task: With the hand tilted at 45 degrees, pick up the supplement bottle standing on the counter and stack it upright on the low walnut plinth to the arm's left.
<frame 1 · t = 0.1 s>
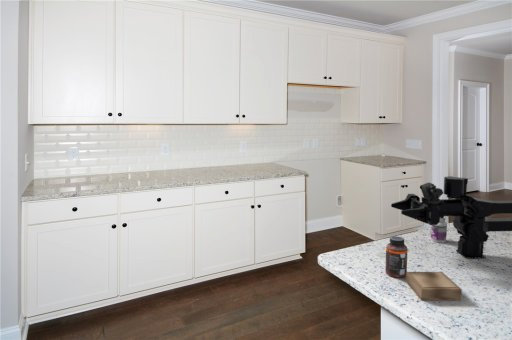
hand: (396, 208, 112), 17 cm above the countertop, tool horizontal, fingers open, 9 cm apart
supplement bottle: (395, 274, 101), on the countertop
pill bottle: (438, 241, 127), on the countertop
walnut plinth: (431, 290, 90), on the countertop
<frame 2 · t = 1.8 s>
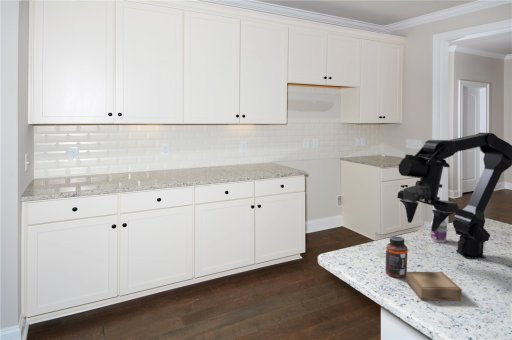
hand: (420, 226, 107), 12 cm above the countertop, tool pointing down, fingers open, 9 cm apart
nothing on the countertop moved.
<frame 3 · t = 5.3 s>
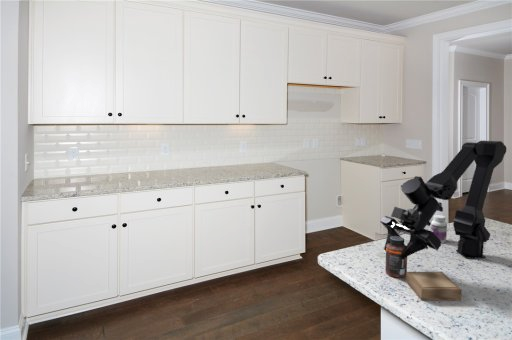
hand: (392, 253, 99), 7 cm above the countertop, tool tilted 45°, fingers closed on supplement bottle, 6 cm apart
supplement bottle: (395, 274, 101), on the countertop, touching gripper
everything else where it was.
when the fingers open (11 cm above the countertop, at t = 8.1 s): supplement bottle stays where it is, resting on walnut plinth.
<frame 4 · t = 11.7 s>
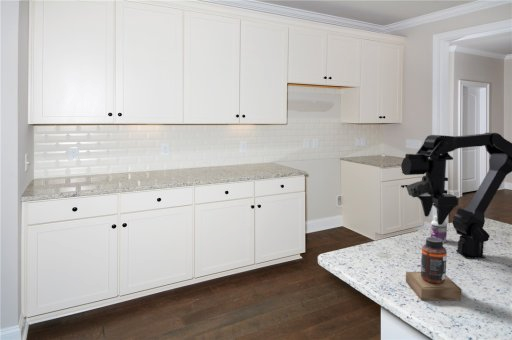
hand: (433, 220, 110), 13 cm above the countertop, tool pointing down, fingers open, 9 cm apart
supplement bottle: (432, 280, 90), point 3 cm above the countertop, touching walnut plinth
everything else where it was.
at the end: supplement bottle inside the target area on the walnut plinth (0.2 cm from its centre), point 3.0 cm above the walnut plinth's base; supplement bottle tilted 0°; the gripper is holding nothing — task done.
